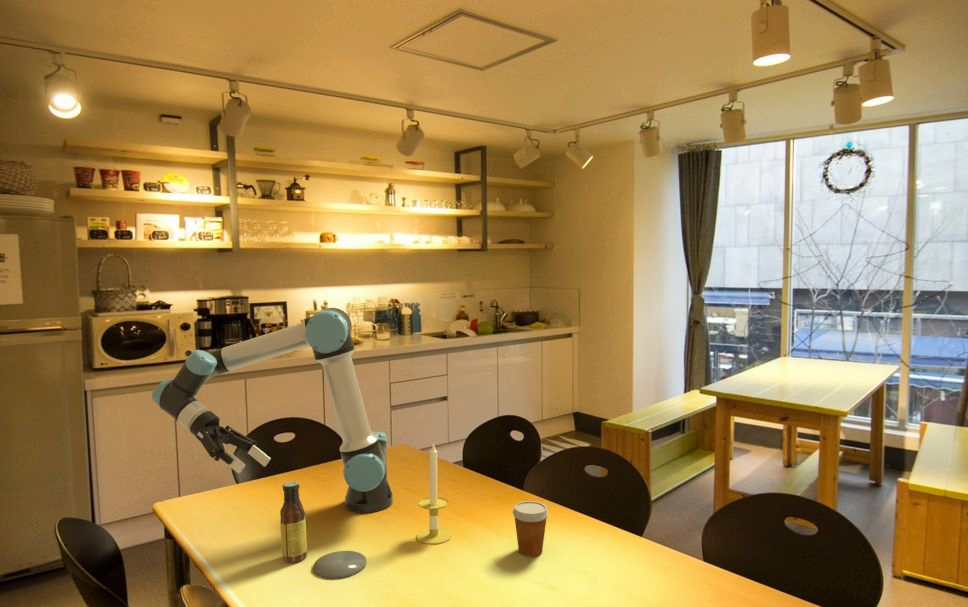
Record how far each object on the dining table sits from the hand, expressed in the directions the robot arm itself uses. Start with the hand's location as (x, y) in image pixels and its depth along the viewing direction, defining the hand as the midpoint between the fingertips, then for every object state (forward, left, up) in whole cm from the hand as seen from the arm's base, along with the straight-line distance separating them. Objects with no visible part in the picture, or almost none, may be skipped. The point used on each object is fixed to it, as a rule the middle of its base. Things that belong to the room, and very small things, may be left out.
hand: (255, 465), depth 167 cm
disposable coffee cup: (-57, +50, -21) cm, 79 cm away
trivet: (-13, +27, -21) cm, 37 cm away
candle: (-41, +27, -21) cm, 53 cm away
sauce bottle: (-5, +16, -21) cm, 27 cm away
